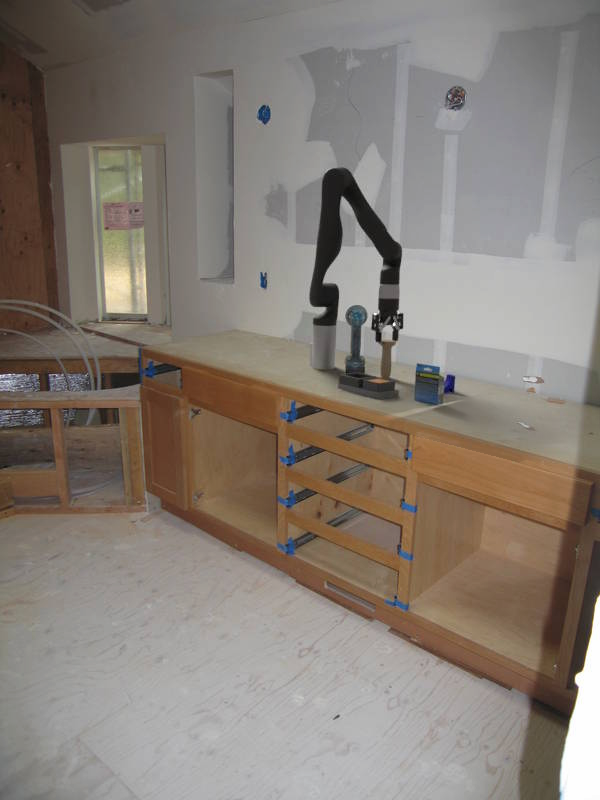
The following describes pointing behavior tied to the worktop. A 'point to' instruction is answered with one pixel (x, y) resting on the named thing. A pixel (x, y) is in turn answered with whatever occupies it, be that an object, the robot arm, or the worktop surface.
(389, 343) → the handle
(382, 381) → the button
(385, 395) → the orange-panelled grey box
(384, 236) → the robot arm
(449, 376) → the blue curved piece
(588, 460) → the worktop surface
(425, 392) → the label tape box
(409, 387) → the worktop surface
